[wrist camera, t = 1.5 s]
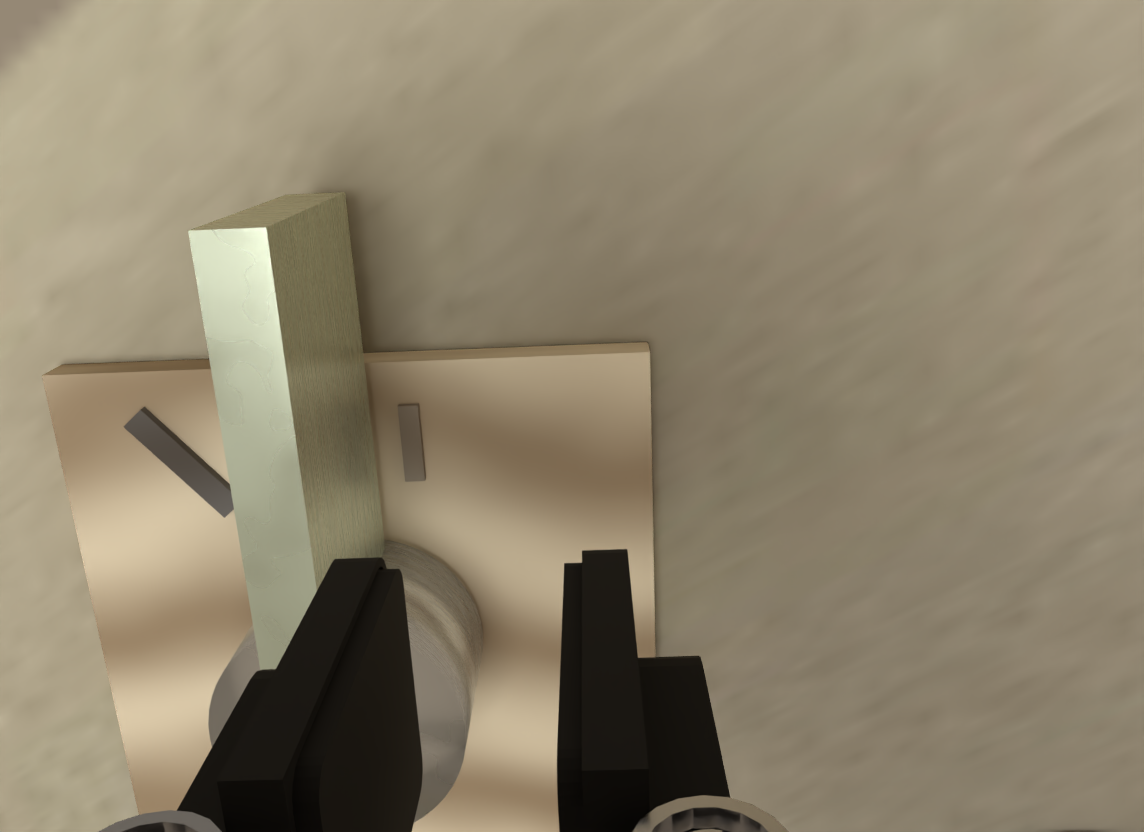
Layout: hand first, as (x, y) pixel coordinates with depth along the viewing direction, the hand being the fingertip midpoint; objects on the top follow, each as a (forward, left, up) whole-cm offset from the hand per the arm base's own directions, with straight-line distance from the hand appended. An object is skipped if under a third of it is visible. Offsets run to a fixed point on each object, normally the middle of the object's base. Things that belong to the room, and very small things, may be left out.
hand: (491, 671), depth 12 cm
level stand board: (-10, +6, -19) cm, 22 cm away
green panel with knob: (-5, +6, -18) cm, 19 cm away
